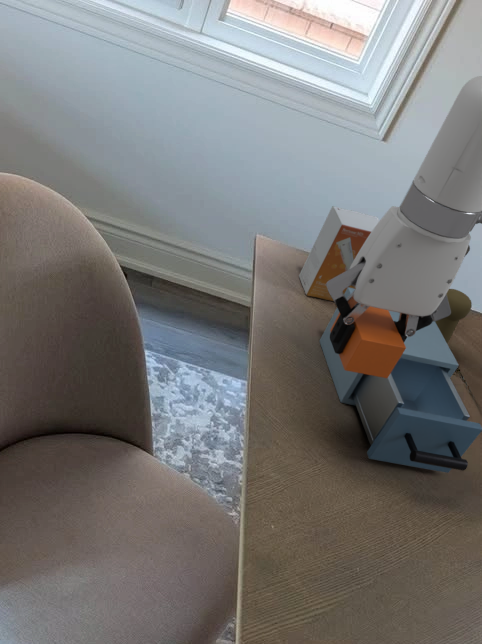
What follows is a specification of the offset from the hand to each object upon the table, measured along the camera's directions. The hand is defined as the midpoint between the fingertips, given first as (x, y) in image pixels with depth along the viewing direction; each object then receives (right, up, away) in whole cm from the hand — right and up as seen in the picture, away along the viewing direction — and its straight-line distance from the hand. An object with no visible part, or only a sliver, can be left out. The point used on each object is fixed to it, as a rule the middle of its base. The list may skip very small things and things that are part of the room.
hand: (359, 350), depth 90 cm
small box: (+5, +16, +37) cm, 40 cm away
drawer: (+8, -10, +10) cm, 17 cm away
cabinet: (+8, -1, +21) cm, 22 cm away
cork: (+19, +5, +30) cm, 36 cm away
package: (0, 0, 0) cm, 0 cm away
